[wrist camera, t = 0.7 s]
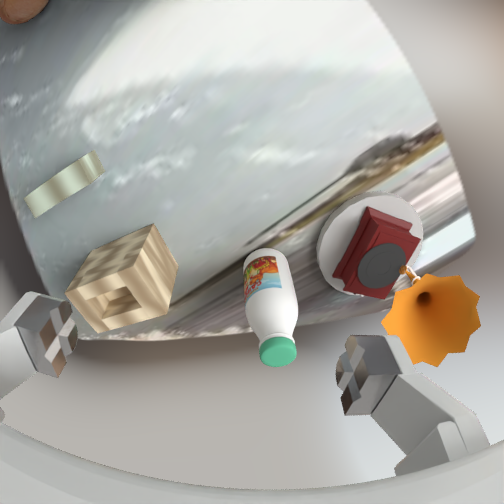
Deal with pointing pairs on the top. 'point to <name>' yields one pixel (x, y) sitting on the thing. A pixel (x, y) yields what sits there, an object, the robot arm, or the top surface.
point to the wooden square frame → (125, 281)
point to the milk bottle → (271, 305)
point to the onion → (20, 10)
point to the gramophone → (396, 275)
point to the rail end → (65, 184)
